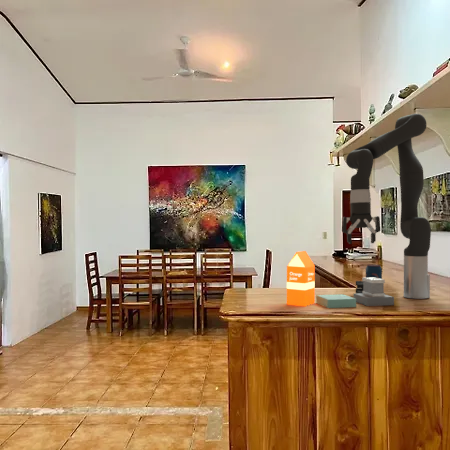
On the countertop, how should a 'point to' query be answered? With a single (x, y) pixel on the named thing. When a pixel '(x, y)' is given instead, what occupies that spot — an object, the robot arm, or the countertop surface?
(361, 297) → the stand
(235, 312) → the countertop surface
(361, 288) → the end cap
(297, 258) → the orange juice
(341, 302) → the stand
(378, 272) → the soda can
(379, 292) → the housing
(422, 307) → the countertop surface
